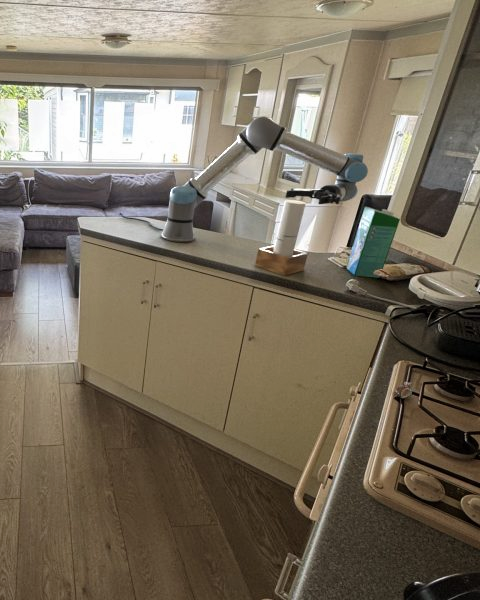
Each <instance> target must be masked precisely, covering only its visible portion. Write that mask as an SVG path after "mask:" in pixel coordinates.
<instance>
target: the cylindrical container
mask: <svg viewBox="0 0 480 600" xmlns="http://www.w3.org/2000/svg"><path fill="white" fill-rule="evenodd" d="M306 204H307V203H306V202H305V201H301V200H296V199H295V200H294V199H285V200H284V202H283V207H282V212H281V216H280V220H279V224H278V229H277V232H276V238H275V241H274V250H273V253H276V254H280V255H283V256H286V257H291V256H293V252H294V249H296V248H295V247H296V243H297V239H298V236H299V232H300V228H301V223H302V220H303V216H304V212H305V209H306Z"/></svg>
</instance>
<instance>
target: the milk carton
mask: <svg viewBox="0 0 480 600" xmlns="http://www.w3.org/2000/svg"><path fill="white" fill-rule="evenodd" d="M394 214H395V212H394V211H391V210H388V209H385V208H382V209H381V210H379V209H375V208H372V207H369V206H364V208H363V212H362V215H361V218H360V220H359V221H360V222H359V225H358V228H357V231H356V234H355V238H354V240H353V243H352V248H351V250H350V254H349V256H348V260H347V264H346V266H345V268H346V270H348V271H349V272H350V273H351V274H352V275H353V276H356V277H367V278H378V279H380V278H381V276H378V275H373V272H374V271H375V270H377V269H383V270H384V267H385V264H386V262H387V258H388V256H389V253H390V249H391V247H392V244H393V241H394V238H395V235H396V234H397V233H396V232H397V230H398V227H399V224H400V222H401V221H400V220H401V219H400V218H398V217H396V216H394Z"/></svg>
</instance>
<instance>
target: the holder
mask: <svg viewBox="0 0 480 600" xmlns="http://www.w3.org/2000/svg"><path fill="white" fill-rule="evenodd" d="M274 245H275V244H274ZM274 245H269V246H265V247H260V248H258V250H257V253H256V259H255V263H254V266H255V267H258V268H260V269H264V270H267V271H270V272H272V273H276V274H277V275H281V276H285V277H286V276H289V275H293V274H296V273H298V272H303V271H304V270H305V266H306V263H307V259H308V255H309V252H306V251H302V250H299V249H296V248H294V252H293V256H291V257H286V256H283V255H280V254H276V253H273V250H274Z"/></svg>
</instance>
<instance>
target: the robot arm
mask: <svg viewBox="0 0 480 600" xmlns="http://www.w3.org/2000/svg"><path fill="white" fill-rule="evenodd" d="M262 149H266V150H269V151H271V152H275V151H277V152H281V153H283V154H285V155H287V156H290V157H292V158H295V159H297V160H299V161H301V162H305V163H306V164H309V165H312V166H314V167H315V168H318V169H321V170H323V171H326V172H329V173H331V174H333V175H335V176H336V179H335V183H331V184H325V185H322V186H321V187H320V188H318V189H313V188H294V187H293V188H290V190H289V189H288V190H286V193H285V198H286V199H291V198H293V199H294V198H296V197H305V198H309V199H316V200H318V205H327V204H331V205H333V204H336V205H340V202H347V201H350V200H353V199H354V198H355V197H356V196H357V195H358V192H359V191H358V190H359V189H358V186H357V183H359V182H361V181H363V180H364V179H366V178H367V176H368V172H369V169H368V166H367V165H366V164H365V162H364V161H363V160H364V155H363V154H362V153H361V154H360V153H348V152H347V153H344V154H342V153H340V152H337V151H334V150H332V149H330V148H327V147H326V146H323V145H321V144H319V143H315V142H313V141H311V140H309V139H306V138H303V137H301V136H299V135H296V134H294V133H291V132H289V131H288V129H287V127H284V126H282V125H280V124H278V123H277V122H275V121H274V120H273V119H272V118H271V117H270V116H265V115H263V116H259V117H256V118H255V119H252V121H251V122H249V124H248V125H247V126H246V127H245V128H243V130H241V132H240V133H238V135H237V139H236V141H235V142H233V144H232V145H231V146H229V147H228V148H227V149H226V150H225V151H224V152H223V153H222V154H221V155H219V156H218V157H217V158H216V159H215V160H214V161H213V162H212V163H211V164H210V165H209V166H208V167H206V169H204V170H203V171H202V172H201V173H200V174H199V175H198V176H197V177H195V178H190V179H189V180H188V181H187V182H186V183H185V184H184V185H178V186H174V187H172V188H171V190H170V194H169V203H168V211H167V219H166V223H165V225H164V227H163V228H159V227H156V226H154V225H153V224H152V223H151V222H150V221H148V220H145V219H141V218H136V217H128V216H124V215H123V212H120V213H119V216H121V218H123V219H127V220H135V221H140V222H144V223H147V224H149V226H150V227H151V228H153V229H154V230H157V231H159V232H161V235H160V236H161V238H162V239H163V240H165V241H168V242H174V243H191V242H193V241H194V240H195V233H194V225H193V221H194V216H195V215H194V214H195V208H197V207H198V206H199V205H200V204H201V203H203V201H204V200H205V199H207V197H208V195H209V192H210V191H211V190H213V188H214V187H215V186H216V185H217V184H219V183H220V182H221V181H222V180H223V179H224V178H225V177H226V176H228V175H229V174H230V173H231V172H232V171H234V170H235V169H236V168H237V167H238V166H239V165H240V164H241V163H243V162H244V161H245V160H246V159H248V157H249V156H251V155H256V154H258V153H259V152H260V151H261V150H262Z"/></svg>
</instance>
